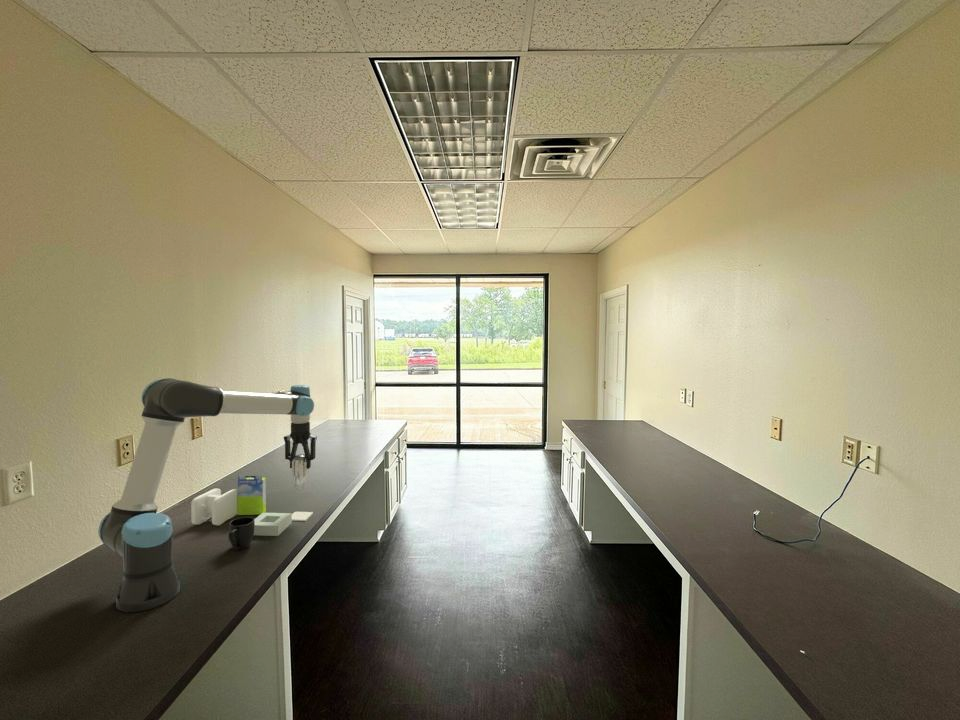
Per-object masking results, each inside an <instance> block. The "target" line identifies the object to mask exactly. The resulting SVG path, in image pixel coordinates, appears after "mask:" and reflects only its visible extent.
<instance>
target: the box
mask: <svg viewBox="0 0 960 720" xmlns="http://www.w3.org/2000/svg"><path fill="white" fill-rule="evenodd" d="M266 478H267V477H263V475H237V490H238V512H237V516H251V515H255V516H256V515H257V516H259V515H261V514H262V513H267V501H266V499H267V492H266V491H267V490H266V489H267V488H266V485H267V482H266V481H267V480H266Z"/></svg>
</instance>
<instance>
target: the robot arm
mask: <svg viewBox="0 0 960 720" xmlns="http://www.w3.org/2000/svg"><path fill="white" fill-rule="evenodd" d="M310 389H311V388H310V386H309V385H306V384H295V385H291V386H290V389H289V391H281V392H280V391H279V392H278V391H277V392H271V393H268V392H267V393H266V392H254V391H253V392H251V391H250V392H249V391H234V390H223V389H222V388H221V387H220V386H208V385H205V384H201V383H200V384H199V383H196V382H192V381H188V380H180V379H175V378H169V377H167V378H159V379H155V380H153V381H151V382H149V384H147V385H146V386H145V388H144V389H143V390H142V393H141V403H142V405H143V410H142V413H141V416H140V417H141V419H142V420H143V421H144V425H143V426H144V427H143V429H142V432H141V435H140V438H139V441H138V444H137V448H136V450H135V454H134V457H133V460H132V463H131V467H130V469H129V473H128V475H127V478H126V479H127V480H126V481H125V486H124V489H123V491H122V495H121V498H120V499H119V500H117V501H116V502H114V503H112V505H111V509H110V512H109V513H107V514H106V515H105V516H104V517H103V518H102V519H101V521H100V523H99V525H98V529H97V530H98V533H97V534H98V537H99V540H100V541H101V542H102V544H104V546H106V548H108V549H110V550H112V551H114V552H116V553H117V554H118V555H120V556H121V557H122V570H123V572H122V573H123V575H122V577H123V578H122V581H121V582H120V583H121V584H120V585H119V588H118V592H117V594H116V597H115V607H116V609H117V610H119V611H120V612H124V613H137V612H144V611H147V610H152V609H155V608H157V607H159V606H162V605H163V604H164V605H165V604H166V603H168V602H170V601H171V600H172V599H174V598H175V597H176V596H178V595H179V592H180V590H181V589H180V588H181V586H180V583H181V582H180V579H179V577H178V575H177V573H176V571H175V569H174V566H173V529H174V527H173V524H172V523H173V522H172V519H171V518H170V516H168V515H167V514H165V513H160V512H158V509H159V508H158V507H159V506H158V504H157V503H156V502H155V499H156V497H157V493H158V489H159V486H160V482H161V480H162V476H163V473H164V470H165V466H166V463H167V460H168V457H169V453H170V450H171V446H172V443H173V440H174V436H175V434H176V431H177V428H178V427H179V426H180V425H182V424H184V422H185V419H186V418H197V417H199V418H200V417H217V416H219V415H220V414H232V415H233V414H236V415H237V414H240V415H241V414H246V415H247V414H248V415H249V414H250V415H290V422H291V423H290V434H289V435H284V436H283V441H284V456H285V457H284V459H285V460H288V461H289V468H290V469H291V477H294V478H295V459H294V456H295V455H297V450H298V445H299V444H300V445H302V449H303V454H305V458H306V461H305V462H304V477H306V478H307V477H308V476H309V475H310V474H309V473H310V472H309V470H310V468H311V466H312V461H313V460H315V459H316V442H317V438H318V437H317V435H312V433H311V432H310V431H311V422H310V420H311V413H313V411H314V409H315V402H314V400H313V399H312V398H311V392H310V391H311V390H310ZM291 440H292V447H291ZM309 440H310V448H309V442H308V441H309Z"/></svg>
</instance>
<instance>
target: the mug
mask: <svg viewBox="0 0 960 720" xmlns="http://www.w3.org/2000/svg"><path fill="white" fill-rule="evenodd" d="M254 519H255V518H253V517H252V516H241V517H237V518H235V519H232V520H231V521H229V524H228V530H229V531H228V540H229V541H228V542H229V543H230V545H231V546H232V548H233V549H234V550H235V551H242V550H246V549H248V548H250V547H251V544H252V541H253V537H254V535H253V534H254V528H255V520H254Z"/></svg>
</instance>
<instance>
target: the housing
mask: <svg viewBox="0 0 960 720" xmlns="http://www.w3.org/2000/svg"><path fill="white" fill-rule="evenodd" d="M292 514H293V513H288V512H265V513H262V514H261V515H257V517H255V518H254V520H255V528H254V534H253V536H263V537H264V536H265V537H267V536H271V537H272V536H273V537H278V536H280V535H281V534H282V533H283V532H284V531H285V530H287V528H288V527H290V525H292V523H293V521H292Z"/></svg>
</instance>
